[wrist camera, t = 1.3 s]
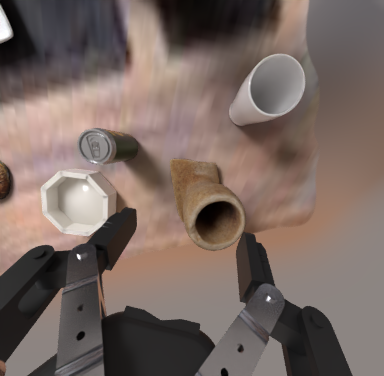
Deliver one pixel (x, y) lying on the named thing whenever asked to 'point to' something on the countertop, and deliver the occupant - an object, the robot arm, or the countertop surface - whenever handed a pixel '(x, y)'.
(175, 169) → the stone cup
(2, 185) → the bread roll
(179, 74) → the countertop surface
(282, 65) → the drinking glass
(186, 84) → the countertop surface
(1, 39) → the square plate
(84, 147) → the beer can
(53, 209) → the cream bowl
